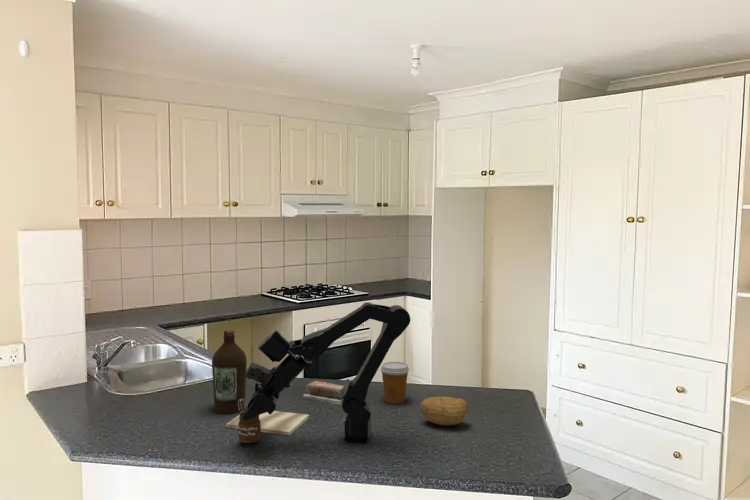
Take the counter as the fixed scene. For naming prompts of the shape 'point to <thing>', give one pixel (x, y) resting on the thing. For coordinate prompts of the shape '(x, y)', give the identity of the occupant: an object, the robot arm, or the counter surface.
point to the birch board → (276, 422)
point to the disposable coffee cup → (394, 381)
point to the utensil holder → (248, 428)
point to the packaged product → (323, 392)
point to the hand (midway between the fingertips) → (244, 415)
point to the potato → (444, 410)
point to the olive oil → (229, 376)
